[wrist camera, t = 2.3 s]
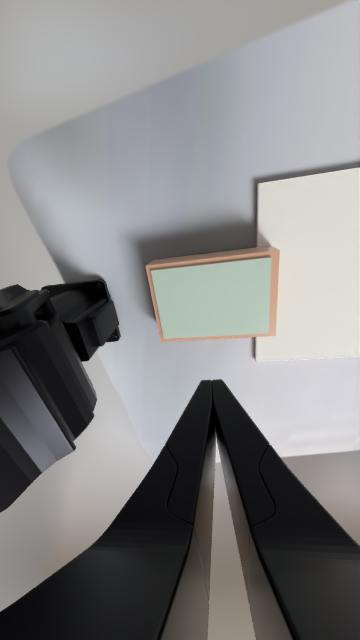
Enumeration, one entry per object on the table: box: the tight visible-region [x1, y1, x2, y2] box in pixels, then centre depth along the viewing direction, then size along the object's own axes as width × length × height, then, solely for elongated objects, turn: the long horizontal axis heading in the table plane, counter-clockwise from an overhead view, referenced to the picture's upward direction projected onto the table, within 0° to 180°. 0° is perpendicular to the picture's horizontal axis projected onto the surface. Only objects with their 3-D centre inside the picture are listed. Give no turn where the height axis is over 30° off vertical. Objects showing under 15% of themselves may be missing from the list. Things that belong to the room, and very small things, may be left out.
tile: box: [146, 246, 280, 342], centre depth 19 cm, size 3×7×10 cm
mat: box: [255, 167, 360, 362], centre depth 19 cm, size 16×16×1 cm
